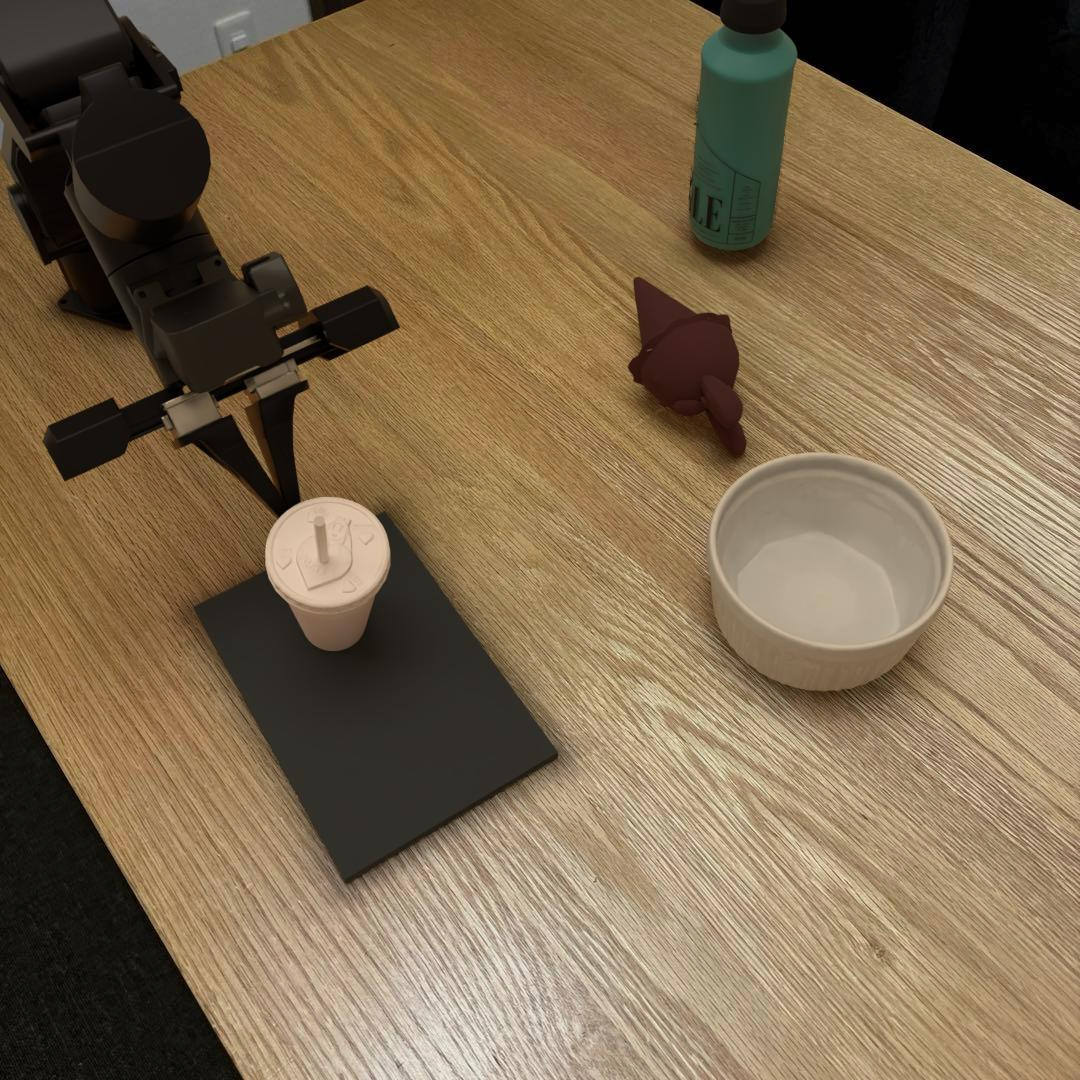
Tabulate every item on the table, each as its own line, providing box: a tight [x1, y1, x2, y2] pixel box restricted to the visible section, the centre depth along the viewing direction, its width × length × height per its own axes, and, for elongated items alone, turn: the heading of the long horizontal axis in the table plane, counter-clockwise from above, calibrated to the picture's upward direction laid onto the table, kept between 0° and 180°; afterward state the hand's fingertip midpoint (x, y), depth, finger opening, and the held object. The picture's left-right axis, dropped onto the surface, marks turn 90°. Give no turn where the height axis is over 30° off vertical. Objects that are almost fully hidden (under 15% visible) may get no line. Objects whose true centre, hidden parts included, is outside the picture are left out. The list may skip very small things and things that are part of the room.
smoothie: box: [264, 496, 390, 651], centre depth 63 cm, size 6×6×14 cm
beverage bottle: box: [686, 0, 798, 251], centre depth 82 cm, size 6×7×20 cm
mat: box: [193, 510, 559, 884], centre depth 68 cm, size 20×13×1 cm, turn 32°
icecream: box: [627, 276, 748, 459], centre depth 78 cm, size 7×7×15 cm
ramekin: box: [705, 451, 955, 692], centre depth 67 cm, size 13×13×7 cm
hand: (296, 528), depth 64 cm, fingers closed
